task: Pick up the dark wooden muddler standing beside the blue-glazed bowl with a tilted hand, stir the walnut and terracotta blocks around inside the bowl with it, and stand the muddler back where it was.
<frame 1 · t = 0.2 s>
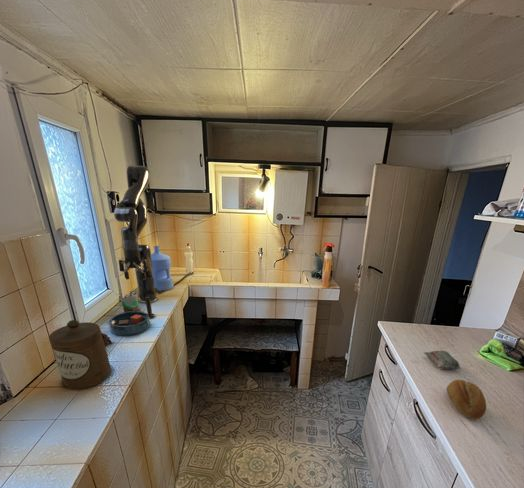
hand: (135, 279, 151), 17 cm above the counter, tool pointing down, fingers open, 8 cm apart
muddler: (150, 316, 149), on the counter
block b: (137, 323, 139), point 1 cm above the counter, touching bowl
water jug: (161, 288, 192), on the counter
pottery mug: (99, 348, 119), on the counter
food container: (134, 311, 155), on the counter
bread roll: (461, 406, 92), on the counter
bowl: (131, 327, 137), on the counter
block a: (124, 329, 133), point 1 cm above the counter, touching bowl
wooden container: (88, 376, 101), on the counter
packaged food: (439, 365, 114), on the counter
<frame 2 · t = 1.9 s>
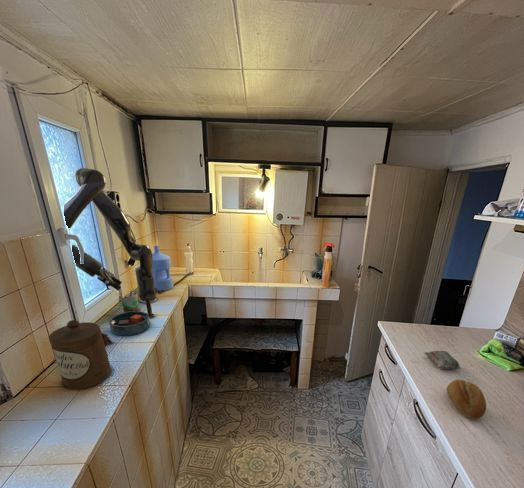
hand: (120, 286, 137), 18 cm above the counter, tool tilted 45°, fingers open, 8 cm apart
nothing on the counter moved.
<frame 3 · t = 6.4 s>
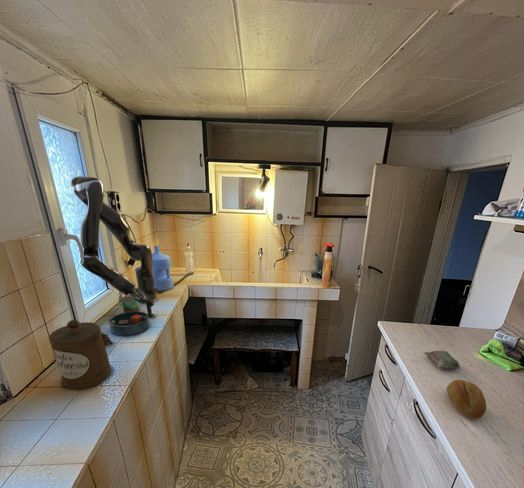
hand: (152, 304, 147), 7 cm above the counter, tool tilted 45°, fingers closed on muddler, 2 cm apart
muddler: (150, 316, 149), on the counter, touching gripper
everything else where it was.
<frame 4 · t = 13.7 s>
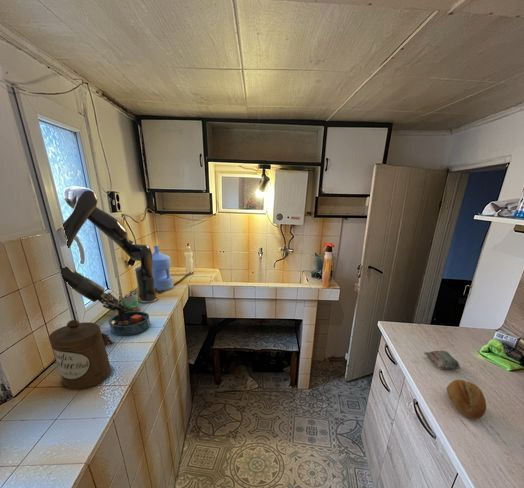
hand: (125, 310, 133), 9 cm above the counter, tool tilted 45°, fingers closed on muddler, 2 cm apart
muddler: (123, 324, 135), point 2 cm above the counter, touching block a, gripper
block a: (124, 330, 132), point 1 cm above the counter, touching bowl, muddler
everything else where it was.
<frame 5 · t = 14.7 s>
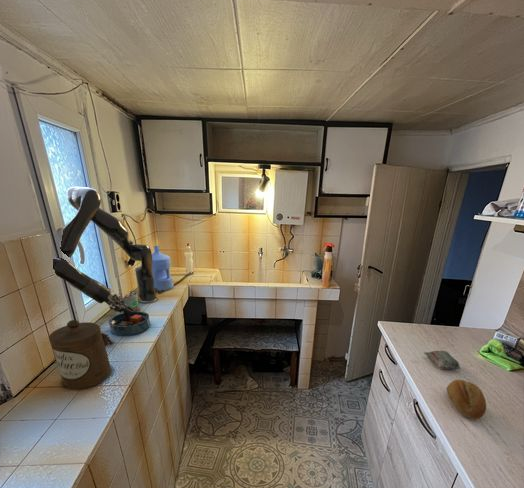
hand: (131, 312, 132), 9 cm above the counter, tool tilted 45°, fingers closed on muddler, 2 cm apart
muddler: (128, 325, 135), point 2 cm above the counter, tilted 10°, touching block a, gripper
block a: (125, 330, 132), point 1 cm above the counter, touching bowl, muddler
everything else where it was.
when the fingers open (7 cm above the counter, at t = 26.7 s): muddler stays where it is, on the counter.
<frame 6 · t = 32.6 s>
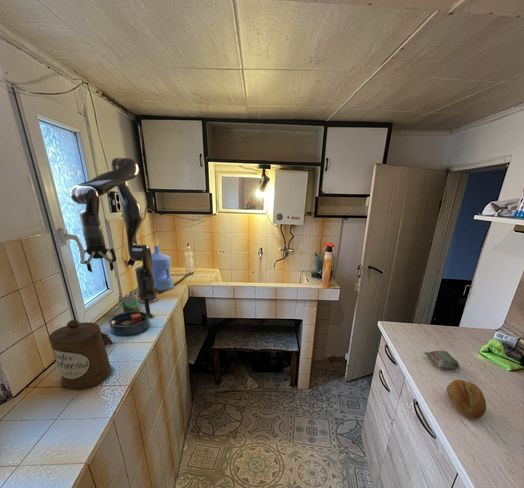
hand: (101, 271, 132), 26 cm above the counter, tool pointing down, fingers open, 8 cm apart
muddler: (148, 317, 148), on the counter
block b: (137, 322, 140), point 1 cm above the counter, touching bowl
block a: (128, 330, 132), point 1 cm above the counter, touching bowl
everything else where it was.
at the end: block a moved 2.3 cm from its start; block a inside the target area in the bowl (4.4 cm from its centre), point 0.8 cm above the bowl's base; block b inside the target area in the bowl (4.4 cm from its centre), point 0.8 cm above the bowl's base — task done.
